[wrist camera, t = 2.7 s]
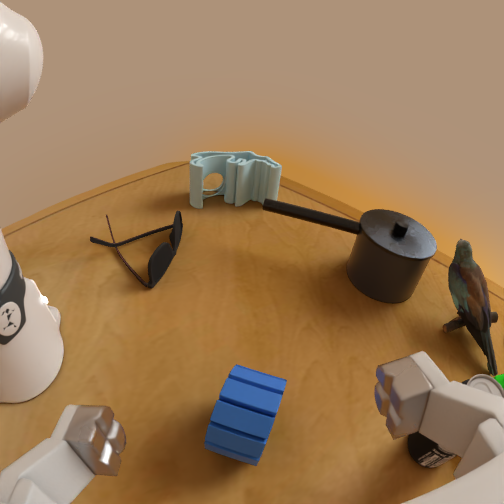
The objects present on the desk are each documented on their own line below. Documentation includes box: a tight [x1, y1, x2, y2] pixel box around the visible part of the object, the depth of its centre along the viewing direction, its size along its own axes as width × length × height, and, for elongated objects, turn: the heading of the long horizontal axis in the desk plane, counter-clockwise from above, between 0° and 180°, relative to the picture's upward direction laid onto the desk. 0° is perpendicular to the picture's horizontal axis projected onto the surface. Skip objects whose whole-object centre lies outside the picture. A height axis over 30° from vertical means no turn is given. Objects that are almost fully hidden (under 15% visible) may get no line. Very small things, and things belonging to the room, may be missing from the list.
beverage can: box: [408, 374, 504, 468], centre depth 25 cm, size 7×7×12 cm
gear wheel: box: [204, 365, 287, 466], centre depth 28 cm, size 5×9×9 cm, turn 162°
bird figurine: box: [443, 239, 498, 376], centre depth 40 cm, size 13×10×20 cm
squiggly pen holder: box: [190, 151, 282, 209], centre depth 67 cm, size 18×10×9 cm, turn 106°
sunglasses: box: [90, 211, 183, 288], centre depth 51 cm, size 17×14×5 cm
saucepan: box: [263, 198, 437, 303], centre depth 51 cm, size 29×14×11 cm, turn 72°
